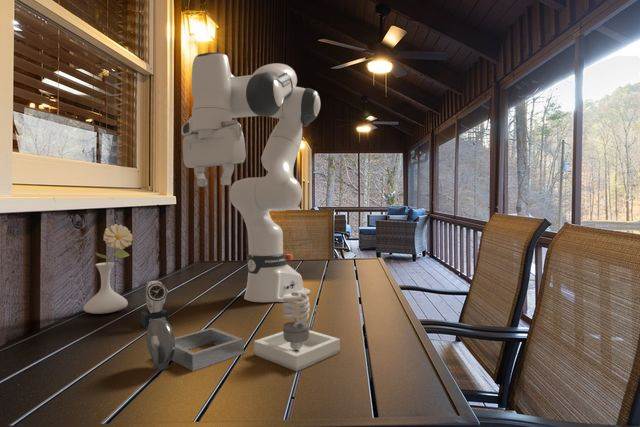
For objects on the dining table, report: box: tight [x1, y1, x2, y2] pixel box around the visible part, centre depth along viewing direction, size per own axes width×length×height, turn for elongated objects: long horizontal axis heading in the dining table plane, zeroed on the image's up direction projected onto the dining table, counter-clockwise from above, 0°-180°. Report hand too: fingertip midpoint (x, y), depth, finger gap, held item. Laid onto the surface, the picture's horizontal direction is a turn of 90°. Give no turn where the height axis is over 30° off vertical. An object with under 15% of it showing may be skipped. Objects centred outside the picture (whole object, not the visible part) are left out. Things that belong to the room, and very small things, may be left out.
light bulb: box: [281, 292, 311, 351], centre depth 82 cm, size 6×6×12 cm
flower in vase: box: [82, 223, 133, 315], centre depth 116 cm, size 13×11×25 cm
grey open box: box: [146, 318, 245, 372], centre depth 80 cm, size 16×12×9 cm
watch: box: [140, 280, 169, 329], centre depth 103 cm, size 6×8×11 cm
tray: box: [253, 329, 341, 372], centre depth 82 cm, size 12×12×3 cm
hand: (213, 185), depth 92 cm, fingers open, 8 cm apart
